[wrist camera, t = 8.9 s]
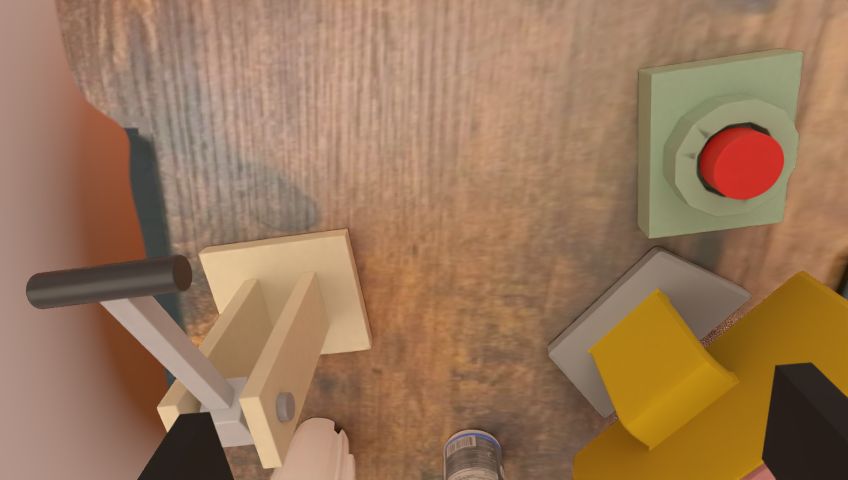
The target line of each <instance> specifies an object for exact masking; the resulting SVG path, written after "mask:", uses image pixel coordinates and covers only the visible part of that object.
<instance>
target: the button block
mask: <svg viewBox="0 0 848 480" xmlns="http://www.w3.org/2000/svg"><path fill="white" fill-rule="evenodd" d="M802 60H803V52H801V51H795V50H788V49H782V48H779V49H772V50H765V51H759V52H752V53H745V54H739V55H732V56H725V57H719V58H712V59H705V60H699V61H692V62H685V63H679V64H672V65H665V66H659V67H652V68H645V69H639V76H638V226H639V228H640V229H641V230H642V231H643V232H644V233H645V235H646V236H647V237H648V238H649V239H651V238H659V237H667V236H675V235H684V234H692V233H700V232H708V231H716V230H724V229H732V228H740V227H748V226H756V225H764V224H772V223H780V222H783V216H784V208H785V200H786V192H787V183H788V178H789V176H790V175H791V173H792V172H793V170H794V169H795V168H794V167H795V166H796V159H797V151H798V143H799V135H798V133H797V131H796V129H795V127H794V126H795V117H796V109H797V101H798V93H799V85H800V76H801V68H802ZM734 127H747V128H751V129H754V130H756V131H758V132H761V133H763V134H765V135H768V136H770V137H772V138H773V139H775V140H776V141H777V142H778V143H779V144H780V146H781V148H782V150H783V153H784V166H783V170H782V173H781V175H780V177H779V178H778V180H777V181H776V182H775V184H774V185H773V186H772V187H771V188H770V189H768V190H767V191H766V192H764V193H763V194H761V195H759V196H756V197H754V198H750V199H744V200H737V199H732V198H729V197H727V196H725V195H723V194H722V193H720V192H719V191H718V190H716V189H715V188H713V187H712V186H710V185H709V184H708V183H707V182H706V181H705V180H704V179H703V177H702V174H701V171H700V159H701V155H702V152H703V150H704V148H705V147H706V145H707V144H708V143H709V142H710V140H711V139H712V138H714V137H715V136H716V135H717V134H719V133H721V132H722V131H725V130H727V129H730V128H734Z"/></svg>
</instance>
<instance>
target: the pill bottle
mask: <svg viewBox="0 0 848 480" xmlns="http://www.w3.org/2000/svg"><path fill="white" fill-rule="evenodd" d="M443 480H505V473H504V466H503V459H502V452H501V447H500V444H499V443H498V441H497V440H496V439H495V438H494V437H493V436H492V435H491V434H489V433H487V432H484V431H480V430H464V431H460V432H458V433H456V434H454V435H453V436H451V437H450V438H449V440H448V441H447V442H446V444H445V446H444V450H443Z"/></svg>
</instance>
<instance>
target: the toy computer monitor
mask: <svg viewBox="0 0 848 480" xmlns="http://www.w3.org/2000/svg"><path fill="white" fill-rule="evenodd" d="M749 299H751V294H750V293H749V292H748V291H747V290H746V289H744V288H742V287H740V286H738V285H736V284H734V283H732V282H730V281H728V280H726V279H724V278H722V277H720V276H718V275H716V274H714V273H712V272H710V271H708V270H706V269H704V268H702V267H699V266H697V265H695V264H693V263H691V262H689V261H687V260H685V259H683V258H681V257H679V256H677V255H675V254H673V253H671V252H669V251H667V250H665V249H663V248H661V247H659V246H658V247H654V248H653V249H651V250H650V251H649V252H648V253H647V254H646V255H645V256H644V257H643V258H642V259H641V260H640V261H639V262H638V263H636V264H635V265H634V266H633V267H632V268H631V269H630V270H629V271H628V272H627V273H626V274H625V275H624V276H623V277H621V278H620V279H619V280H618V281H617V282H616V283H615V284H614V285H613V286H612V287H611V288H610V289H609V290H608V291H607V292H605V293H604V294H603V295H602V296H601V297H600V298H599V299H598V300H597V301H596V302H595V303H594V304H593V305H592V306H590V307H589V308H588V309H587V310H586V311H585V312H584V313H583V314H582V315H581V316H580V317H579V318H578V319H577V320H575V321H574V322H573V323H572V324H571V325H570V326H569V327H568V328H567V329H566V330H565V331H564V332H563V333H562V334H560V335H559V336H558V337H557V338H556V339H555V340H554V341H553V342H552V343H551V344H550V345H549V346H548V347H547V351H548V355H549V357H550V358H551V359H552V360H553V362H554V363H555V364H556V365H557V366H558V367H559V368H560V369H561V371H562V372H563V373H564V374H565V375H566V376H567V377H568V379H569V380H570V381H571V382H572V383H573V384H574V385H575V386H576V388H577V389H578V390H579V391H580V392H581V393H582V394H583V395H584V397H585V398H586V399H587V400H588V401H589V402H590V403H591V404H592V406H593V407H594V408H595V409H596V410H597V411H598V412H599V413H600V415H601V416H602V417H603V418H607V417H608V416H610V415H611V414H612V413H613V412H614V411H616V414H617V416H618V418H619V419H618V420H617V421H616V422H615V423H613V424H612V425H611V426H610V427H608V428H607V429H606V430H605V431H604V432H602V433H601V434H600V435H599V436H597V437H596V438H595V439H594V440H593V441H591V442H590V443H589V444H588V445H586V446H585V447H584V448H583V449H582V450H580V451H579V452H578V453H577V454H576V455H575V456H574V462H573V480H776V479H775V478H774V476H773V475H772V473H771V472H770V470H769V469H768V468H767V466H766V465H765V463H764V462H763V460H762V452H763V445H764V438H765V432H766V425H767V418H768V411H769V404H770V398H771V391H772V384H773V377H774V371H775V365H783V364H795V363H808V362H812V363H813V364H814V365H815V366H816V367H817V368H818V369H819V370H820V371H821V372H822V373H823V374H824V375H825V376H826V377H827V378H828V379H829V380H830V381H831V382H832V383H833V384H834V385H835V386H836V387H837V388H838V389H839V390H840V391H841V392H842V393H844V394H845V395H846V396H847V397H848V301H847V300H846V299H844V298H843V297H841V296H840V295H838V294H837V293H836V292H834V291H833V290H831V289H830V288H828V287H827V286H825V285H824V284H822V283H821V282H819V281H818V280H816V279H815V278H813V277H812V276H810V275H809V274H807V273H806V272H804V271H802V272H799V273H796V274H795V275H794V276H793V277H791V278H790V279H789V280H788V281H787V282H785V283H784V284H783V285H782V286H780V287H779V288H778V289H777V290H776V291H774V292H773V293H772V294H771V295H769V296H768V297H767V298H766V299H765V300H763V301H762V302H761V303H760V304H758V305H757V306H756V307H755V308H754V309H752V310H751V311H750V312H749V313H747V314H746V315H745V316H744V317H743V318H741V319H740V320H739V321H738V322H736V323H735V324H734V325H733V326H732V327H730V328H729V329H728V330H727V331H726V332H724V333H723V334H722V335H721V336H719V337H718V338H717V339H716V340H715V341H713V342H712V343H711V344H710V345H708V346H707V347H706V348H704V347H703V346H702V344H701V343H700V342H699V341H700V340H701V339H702V338H704V337H705V336H706V335H707V334H708V333H710V332H711V331H712V330H713V329H715V328H716V327H717V326H718V325H719V324H721V323H722V322H723V321H724V320H725V319H727V318H728V317H729V316H730V315H731V314H733V313H734V312H735V311H736V310H737V309H739V308H740V307H741V306H742V305H743V304H745V303H746V302H747V301H748V300H749Z"/></svg>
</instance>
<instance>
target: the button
mask: <svg viewBox="0 0 848 480" xmlns="http://www.w3.org/2000/svg"><path fill="white" fill-rule="evenodd" d="M783 166H784V153H783V150H782V148H781V146H780V144H779V143H778V142H777V141H776V140H775V139H773V138H772V137H770V136H768V135H765V134H763V133H761V132H758V131H756V130H754V129H751V128H747V127H734V128H730V129H727V130H725V131H722V132H721V133H719V134H717V135H716V136H715V137H714V138H712V139H711V140H710V142H709V143H708V144H707V145H706V147H705V148H704V150H703V152H702V155H701V159H700V171H701V174H702V177H703V179H704V180H705V181H706V182H707V183H708V184H709V185H710V186H712V187H713V188H715V189H716V190H718V191H719V192H720V193H722V194H723V195H725V196H727V197H729V198H732V199H737V200H744V199H750V198H754V197H756V196H759V195H761V194H763V193H764V192H766V191H767V190H768V189H770V188H771V187H772V186H773V185H774V184H775V182H776V181H777V180H778V178H779V177H780V175H781V173H782V170H783Z"/></svg>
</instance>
